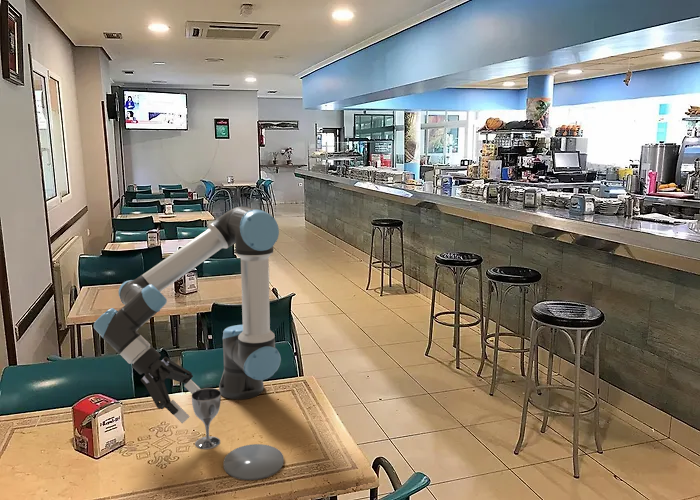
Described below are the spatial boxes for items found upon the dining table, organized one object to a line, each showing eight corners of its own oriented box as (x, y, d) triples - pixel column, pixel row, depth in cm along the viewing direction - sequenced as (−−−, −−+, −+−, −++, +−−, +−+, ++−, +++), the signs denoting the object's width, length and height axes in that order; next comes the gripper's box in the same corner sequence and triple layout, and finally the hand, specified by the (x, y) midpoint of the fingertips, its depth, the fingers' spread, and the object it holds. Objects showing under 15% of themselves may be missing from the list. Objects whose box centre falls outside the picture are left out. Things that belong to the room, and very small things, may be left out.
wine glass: (214, 451, 162) (213, 401, 159) (188, 448, 163) (186, 398, 161) (226, 437, 170) (225, 389, 167) (201, 434, 171) (199, 386, 168)
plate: (239, 443, 166) (239, 440, 166) (292, 452, 162) (292, 449, 162) (212, 474, 151) (212, 470, 151) (269, 484, 147) (269, 481, 147)
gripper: (151, 348, 175) (201, 397, 177) (110, 382, 151) (168, 438, 152) (167, 332, 174) (217, 382, 175) (129, 364, 149) (187, 421, 151)
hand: (195, 408), depth 164 cm, fingers open, 13 cm apart
